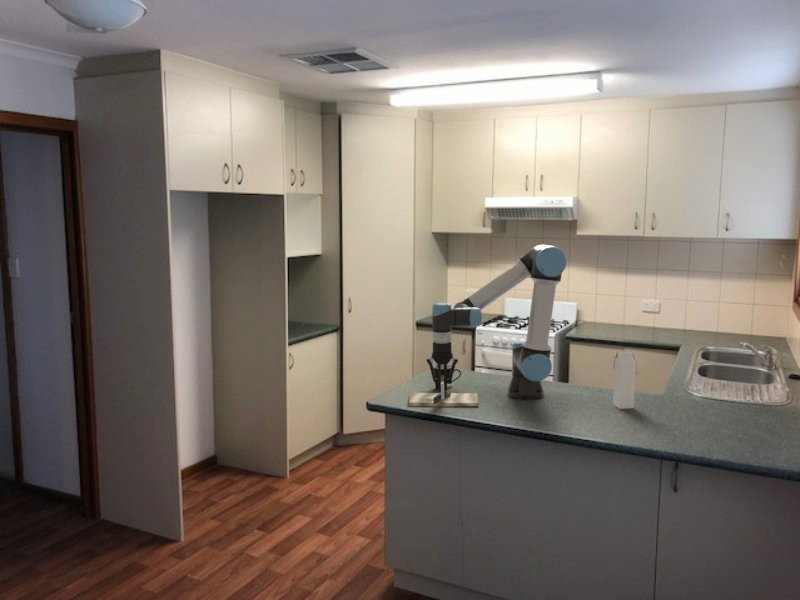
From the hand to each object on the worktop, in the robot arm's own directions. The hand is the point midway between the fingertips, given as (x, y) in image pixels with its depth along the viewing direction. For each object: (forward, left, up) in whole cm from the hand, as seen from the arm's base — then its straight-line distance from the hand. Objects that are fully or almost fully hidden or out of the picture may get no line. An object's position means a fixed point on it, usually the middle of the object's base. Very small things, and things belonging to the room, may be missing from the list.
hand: (442, 398), depth 264 cm
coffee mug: (-1, -25, -3) cm, 25 cm away
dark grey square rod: (+1, -3, -1) cm, 4 cm away
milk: (-72, -2, -3) cm, 72 cm away
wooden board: (0, -6, -3) cm, 7 cm away
